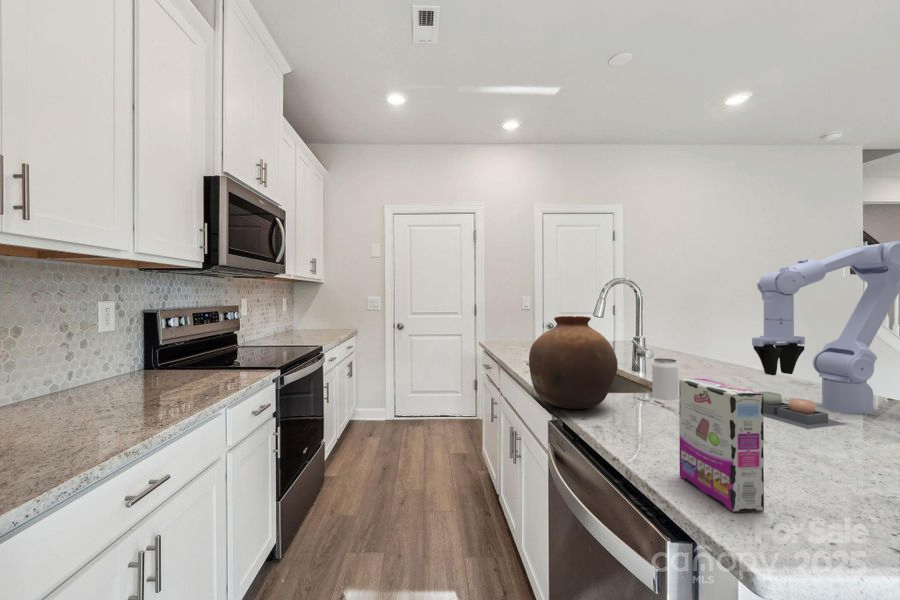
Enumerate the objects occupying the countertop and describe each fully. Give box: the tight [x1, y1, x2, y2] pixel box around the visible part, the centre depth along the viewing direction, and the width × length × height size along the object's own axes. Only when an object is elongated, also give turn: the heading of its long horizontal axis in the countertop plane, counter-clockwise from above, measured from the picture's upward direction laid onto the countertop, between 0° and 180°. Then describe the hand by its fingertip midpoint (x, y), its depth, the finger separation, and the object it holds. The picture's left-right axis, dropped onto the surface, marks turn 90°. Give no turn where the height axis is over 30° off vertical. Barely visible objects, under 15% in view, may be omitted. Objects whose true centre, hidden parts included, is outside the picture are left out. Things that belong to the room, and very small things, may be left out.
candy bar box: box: [678, 378, 765, 513], centre depth 58 cm, size 11×5×16 cm, turn 5°
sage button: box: [757, 391, 783, 406], centre depth 94 cm, size 4×4×2 cm
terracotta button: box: [788, 398, 816, 414], centre depth 87 cm, size 4×4×2 cm
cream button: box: [733, 385, 753, 391], centre depth 101 cm, size 4×4×2 cm
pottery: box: [528, 315, 619, 410], centre depth 104 cm, size 23×23×25 cm
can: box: [651, 357, 680, 405], centre depth 108 cm, size 6×6×12 cm
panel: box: [763, 402, 847, 430], centre depth 94 cm, size 12×24×4 cm, turn 14°
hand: (778, 374), depth 95 cm, fingers open, 5 cm apart
